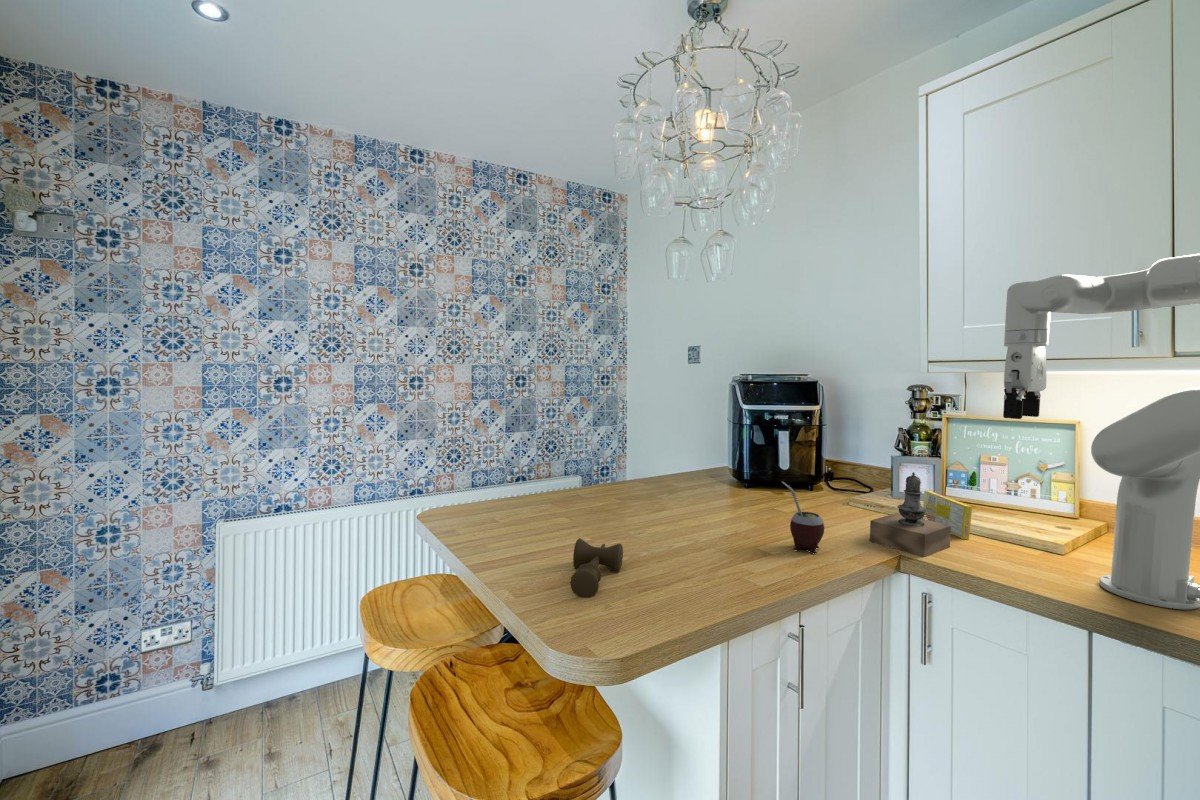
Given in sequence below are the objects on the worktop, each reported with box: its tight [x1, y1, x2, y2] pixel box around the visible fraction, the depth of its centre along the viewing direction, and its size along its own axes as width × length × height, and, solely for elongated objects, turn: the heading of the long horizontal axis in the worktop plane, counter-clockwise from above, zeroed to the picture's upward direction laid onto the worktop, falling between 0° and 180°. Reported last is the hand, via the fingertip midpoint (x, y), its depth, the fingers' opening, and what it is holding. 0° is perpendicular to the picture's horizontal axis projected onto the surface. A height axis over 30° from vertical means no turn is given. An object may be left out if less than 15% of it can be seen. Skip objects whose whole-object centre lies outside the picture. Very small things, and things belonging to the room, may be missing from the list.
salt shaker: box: [897, 471, 927, 527], centre depth 119 cm, size 6×6×12 cm
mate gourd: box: [781, 481, 825, 555], centre depth 115 cm, size 8×8×15 cm
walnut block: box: [869, 512, 952, 558], centre depth 119 cm, size 12×12×5 cm
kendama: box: [569, 537, 624, 598], centre depth 100 cm, size 6×10×20 cm
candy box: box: [922, 490, 973, 540], centre depth 131 cm, size 16×2×8 cm, turn 179°
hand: (1021, 417), depth 113 cm, fingers open, 9 cm apart
